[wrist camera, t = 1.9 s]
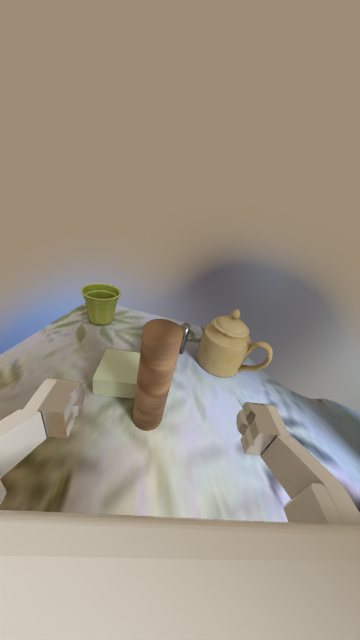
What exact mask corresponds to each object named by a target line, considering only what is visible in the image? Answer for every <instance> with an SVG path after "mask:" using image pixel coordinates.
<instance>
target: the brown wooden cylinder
mask: <svg viewBox="0 0 360 640" xmlns="http://www.w3.org/2000/svg"><path fill="white" fill-rule="evenodd" d="M182 338H183V330H182V328H181V327H180V326H179V325H178V324H176V323H174V322H172V321H169V320H165V319H154V320H151V321H148V322H147V323H146V324H145V325H144V328H143V336H142V344H141V352H140V360H139V368H138V376H137V383H136V391H135V399H134V407H133V415H132V419H133V422H134V424H135V425H136V427H138V428H139V429H141V430H145V431H148V430H153V429H155V428H156V427H157V426H158V425H159V424H160V422H161V420H162V416H163V412H164V408H165V404H166V400H167V396H168V392H169V389H170V385H171V381H172V377H173V373H174V369H175V365H176V361H177V357H178V353H179V350H180V346H181V342H182Z"/></svg>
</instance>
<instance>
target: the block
mask: <svg viewBox="0 0 360 640" xmlns="http://www.w3.org/2000/svg"><path fill="white" fill-rule="evenodd" d="M139 360H140V353H138V352H131V351H123V350H116V349H109V348H107V349H106V351H105V353H104V355H103V357H102V359H101V362H100V364H99V366H98V368H97V370H96V372H95V374H94V377H93V394H94V395H103V396H112V397H121V398H130V399H135V391H136V383H137V376H138V368H139Z"/></svg>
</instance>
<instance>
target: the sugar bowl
mask: <svg viewBox="0 0 360 640" xmlns="http://www.w3.org/2000/svg"><path fill="white" fill-rule="evenodd" d="M239 317H240V312H239V310H238V309H236V310H234V311H233V312H232V313H231V316H219V317H217V318H215V319H214V320H213V322H211V323H209V324H207V325H206V327H205V329H204V332H203V335H202V338H201V341H200V345H199V349H198V352H197V361H198V363H199V364H200V366H201V367H202V368H203V369H204V370H205V371H207V372H208V373H210V374H212V375H215V376H218V377H223V378H227V377H232V376H234V375H236V374H237V373H238V372H239V371H257V370H261V369H263V368H265V367H266V366H267V365H268V364H269V363H270V362H271V360H272V357H273V351H272V348H271V347H270V345H269V344H267V343H265V342H262V341H260V342H256V343H254V344H252V345H251V339H250V337H249V333H250V332H249V329H248V327H247V326H246V325H245V324H244V323H243V322H242V321H240V320H239V319H238V318H239ZM257 346H259V347H263V348H264V349H265V350H266V351H267V354H268V357H267V359H266V360H265V362H264V363H262V364H260V365H255V366H248V365H242V363H243V361H244V359H245V357H246V356H247V355H248V354H250V353H251V351H252V350H253V349H254V348H255V347H257Z"/></svg>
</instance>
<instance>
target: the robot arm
mask: <svg viewBox="0 0 360 640" xmlns="http://www.w3.org/2000/svg"><path fill="white" fill-rule="evenodd" d="M82 388H83V383H81V382H75V381H68V380H61V379H54V378H47V379H45V380H44V381H43V382H42V384H41V385H40V386H39V388H38V389H37V391H36V392H35V393H34V395H33V396H32V397H31V399H30V400H29V401H28V403H27V404H26V405H25V407H24V408H23V410H22V409H18V410H17V411H15V412H13V413H12V414H10V415H8V416H7V417H5V418H3V419H2V420H0V479H1V478H2V477H3V476H4V475H5V474H6V473H8V472H9V471H10V470H11V469H12V468H13V467H14V466H16V465H17V464H18V463H19V462H20V461H21V460H22V459H23V458H25V457H26V456H27V455H28V454H29V453H30V452H31V451H33V450H34V449H35V448H36V447H37V446H38V445H39V444H41V443H42V442H43V441H44V440H45V439H46V438H47V437H59V438H68V436H69V434H70V431H71V429H72V427H73V425H74V417H75V416H77V415H78V414H79V412H80V409H81V407H82V403H83V397H84V396H83V393H82V392H81V390H82ZM242 407H243V410H241V411H239V413H238V415H237V420H236V422H237V428H238V431H239V432H240V433H241V434H242V437H241V443H242V446H243V450H244V453H245V454H252V455H260V456H261V458H262V459H263V461H264V462H265V463H266V465H267V466H268V467H269V469H270V470H271V472H272V473H273V474H274V476H275V477H276V478H277V480H278V481H279V483H280V484H281V485H282V487H283V488H284V489H285V491H286V492H287V494H288V495H289V496H290V498H291V499H292V500H290V501H289V502H288V503H287V504H285V506H284V511H285V514H286V516H287V519H288V522H289V523H288V522H265V521H243V520H220V519H198V518H175V517H153V516H130V515H108V514H85V513H63V512H40V511H18V510H0V640H360V513H359V511H358V510H357V508H356V506H355V505H354V503H353V501H352V500H351V498H350V496H349V494H348V493H347V491H346V489H345V488H344V486H343V484H342V483H340V482H339V481H338V480H337V479H336V478H335V477H334V476H333V475H332V474H331V473H330V472H329V471H328V470H327V469H326V468H325V467H324V466H323V465H322V464H321V463H320V462H319V461H317V460H316V459H315V458H314V457H313V456H312V455H311V454H310V453H309V452H308V451H307V450H306V449H305V448H304V447H303V446H302V445H301V444H300V443H299V442H298V441H297V440H295V439H294V438H293V437H290V435H289V433H288V431H287V429H286V427H285V425H284V423H283V421H282V419H281V417H280V415H279V413H278V411H277V409H276V407H275V406H274V405H266V404H259V403H250V402H246V403H244V404H243V406H242ZM6 494H7V492H6V488H5V487H4V485H3V483H2V482H1V480H0V504H1V503H2V501H3V499H4V497H5V496H6Z"/></svg>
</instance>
